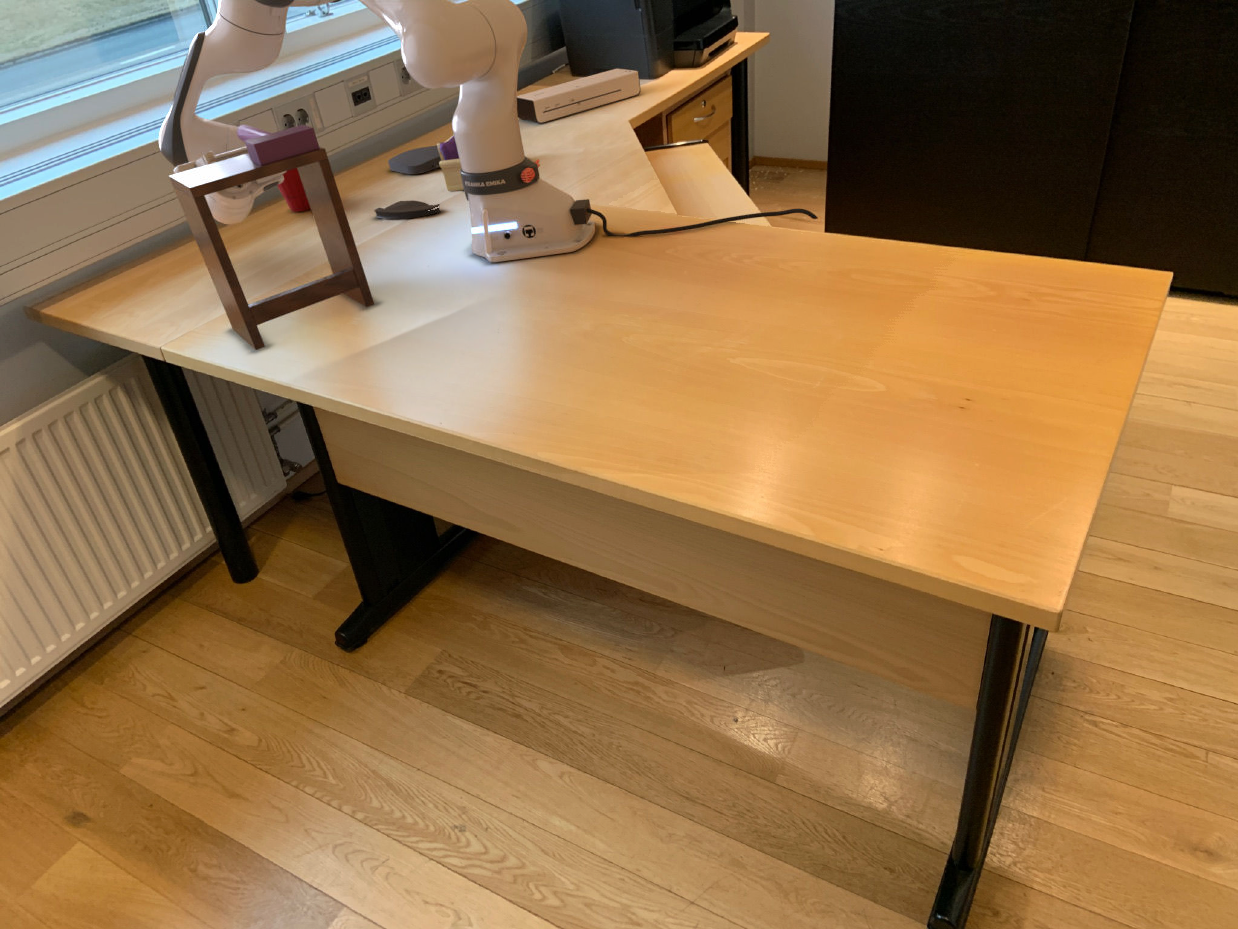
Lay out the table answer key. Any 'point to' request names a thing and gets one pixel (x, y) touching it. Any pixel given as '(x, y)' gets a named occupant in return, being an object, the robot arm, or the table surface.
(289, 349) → the table surface
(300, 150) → the toy hammer
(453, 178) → the toy sofa
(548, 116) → the laminator
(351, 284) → the bench
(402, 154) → the media streaming box
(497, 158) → the robot arm
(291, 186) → the plastic cup
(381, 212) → the black flat piece
